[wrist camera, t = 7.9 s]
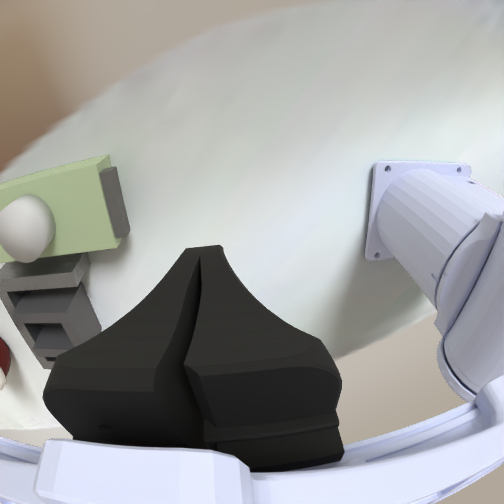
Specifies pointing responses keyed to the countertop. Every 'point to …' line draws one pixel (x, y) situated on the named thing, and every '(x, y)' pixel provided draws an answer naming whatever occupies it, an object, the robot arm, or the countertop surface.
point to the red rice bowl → (4, 363)
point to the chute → (58, 318)
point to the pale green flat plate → (62, 211)
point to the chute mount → (39, 287)
